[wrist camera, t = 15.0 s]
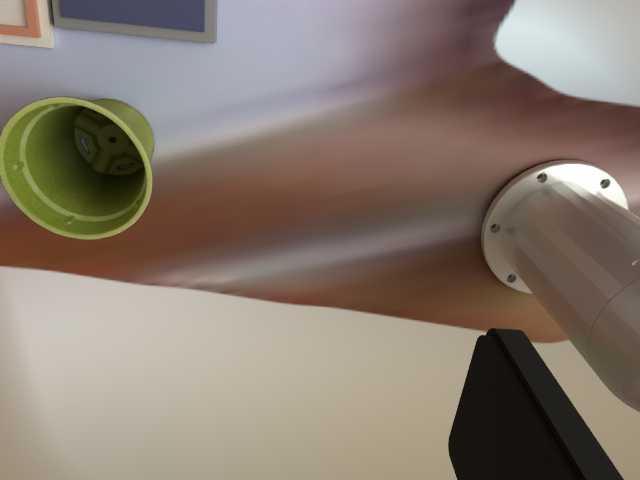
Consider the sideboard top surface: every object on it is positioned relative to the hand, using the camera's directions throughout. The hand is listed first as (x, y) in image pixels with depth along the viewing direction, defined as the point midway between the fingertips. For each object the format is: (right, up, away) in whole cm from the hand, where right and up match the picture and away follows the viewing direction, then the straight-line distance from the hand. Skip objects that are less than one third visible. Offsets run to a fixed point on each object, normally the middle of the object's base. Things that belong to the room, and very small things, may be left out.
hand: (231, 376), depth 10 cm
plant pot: (-14, +11, +31) cm, 36 cm away
